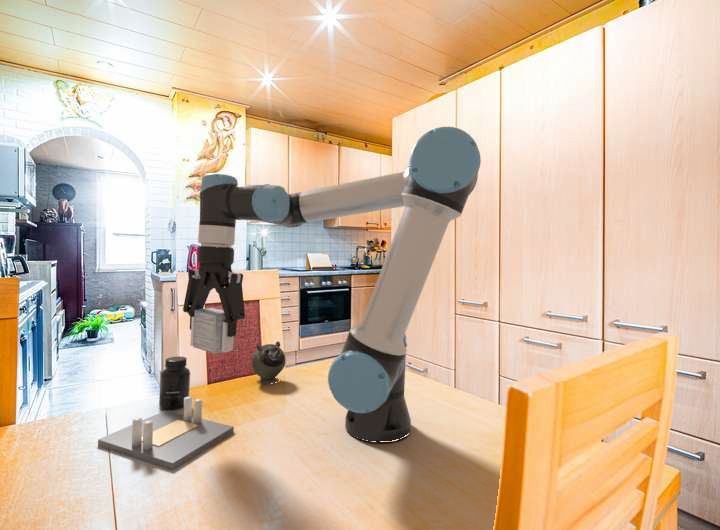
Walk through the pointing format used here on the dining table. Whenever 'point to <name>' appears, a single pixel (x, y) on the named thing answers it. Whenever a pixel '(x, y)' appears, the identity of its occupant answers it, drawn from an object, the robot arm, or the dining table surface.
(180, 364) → the supplement bottle
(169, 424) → the pin tray
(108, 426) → the dining table surface
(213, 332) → the medicine box
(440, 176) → the robot arm
